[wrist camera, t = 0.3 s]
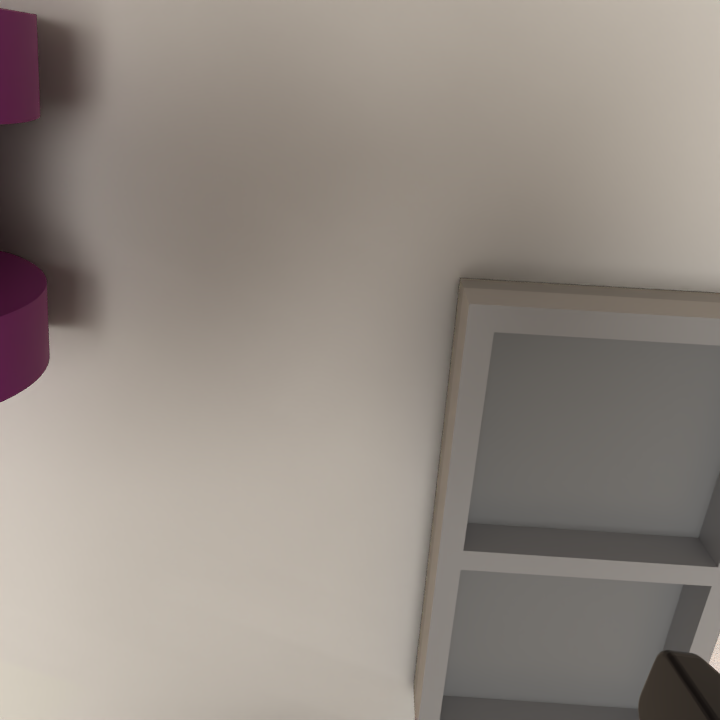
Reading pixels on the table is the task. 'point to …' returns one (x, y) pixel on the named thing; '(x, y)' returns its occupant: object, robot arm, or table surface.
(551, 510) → the housing
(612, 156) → the table surface
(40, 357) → the mounting bracket
